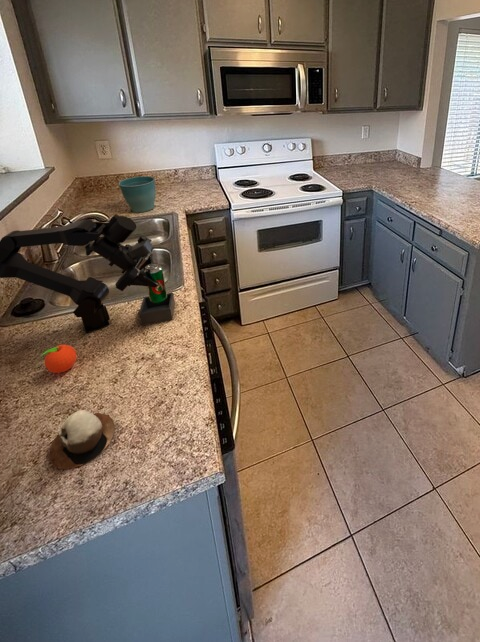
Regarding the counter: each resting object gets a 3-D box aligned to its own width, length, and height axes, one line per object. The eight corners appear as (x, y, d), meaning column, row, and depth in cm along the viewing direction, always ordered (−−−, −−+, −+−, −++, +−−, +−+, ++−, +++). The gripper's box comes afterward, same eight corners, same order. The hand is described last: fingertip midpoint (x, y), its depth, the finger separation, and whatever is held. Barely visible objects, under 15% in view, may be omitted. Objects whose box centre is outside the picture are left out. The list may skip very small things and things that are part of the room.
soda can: (153, 295, 115) (146, 262, 110) (169, 294, 115) (163, 261, 111) (147, 304, 110) (140, 271, 106) (164, 303, 111) (158, 270, 106)
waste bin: (141, 325, 112) (138, 314, 111) (146, 307, 120) (143, 297, 119) (172, 319, 115) (170, 308, 113) (175, 303, 123) (173, 292, 121)
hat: (31, 450, 75) (57, 399, 77) (79, 442, 83) (101, 397, 86) (58, 481, 69) (85, 424, 71) (107, 470, 77) (130, 419, 80)
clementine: (39, 382, 92) (30, 361, 89) (50, 362, 98) (42, 342, 96) (74, 375, 94) (67, 354, 91) (83, 356, 100) (76, 336, 98)
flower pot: (129, 218, 192) (122, 188, 186) (121, 208, 205) (115, 180, 199) (164, 209, 203) (158, 181, 197) (154, 201, 216) (149, 174, 210)
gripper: (119, 248, 95) (168, 281, 101) (142, 220, 112) (183, 249, 118) (94, 276, 97) (144, 306, 102) (120, 244, 114) (162, 272, 120)
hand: (160, 281), depth 111 cm, fingers closed on soda can, 5 cm apart
